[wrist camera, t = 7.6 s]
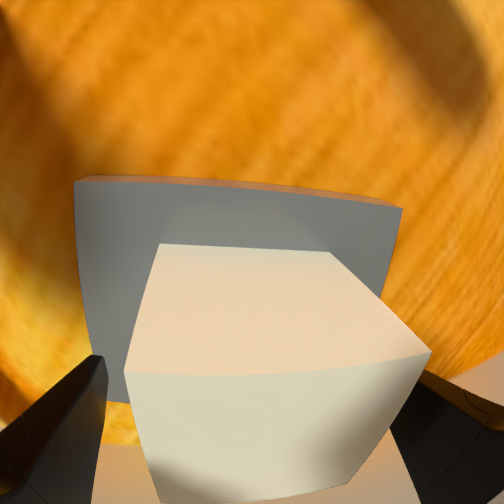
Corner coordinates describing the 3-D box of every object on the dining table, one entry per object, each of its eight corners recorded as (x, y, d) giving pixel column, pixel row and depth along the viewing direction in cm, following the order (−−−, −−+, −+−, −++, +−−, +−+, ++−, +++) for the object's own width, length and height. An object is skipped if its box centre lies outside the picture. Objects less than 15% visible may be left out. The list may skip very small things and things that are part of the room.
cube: (329, 252, 11) (431, 352, 5) (298, 374, 13) (347, 483, 7) (159, 243, 10) (123, 371, 4) (164, 377, 12) (161, 503, 6)
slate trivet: (379, 198, 12) (402, 208, 11) (330, 374, 16) (342, 395, 14) (91, 175, 10) (73, 181, 8) (111, 375, 13) (105, 400, 12)
